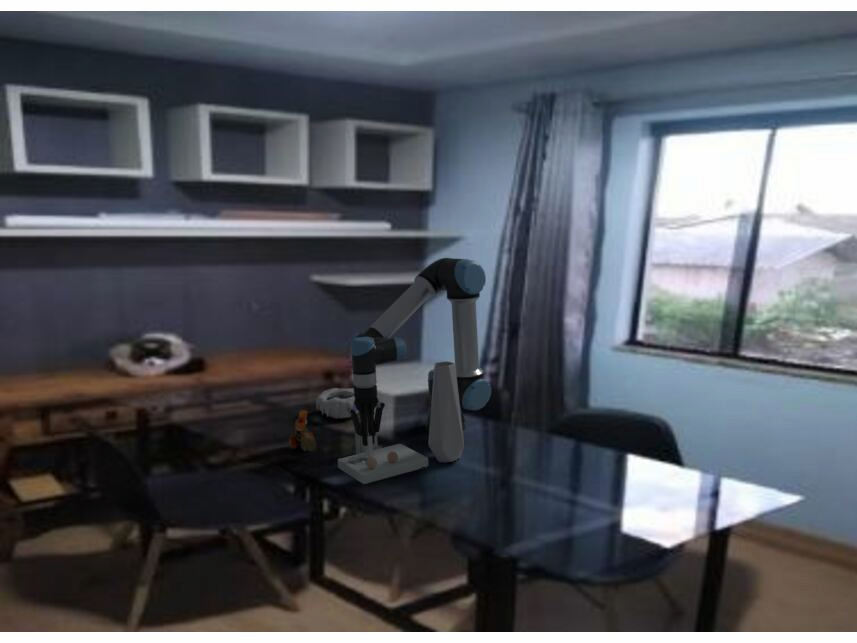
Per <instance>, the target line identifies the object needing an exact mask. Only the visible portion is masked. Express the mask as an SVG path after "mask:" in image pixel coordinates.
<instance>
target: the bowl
mask: <svg viewBox="0 0 857 643" xmlns="http://www.w3.org/2000/svg"><path fill="white" fill-rule="evenodd" d="M315 399H316V400H315V402H316V403H315V404H316V405H315V406H316V407H315V409H316V410H317V412H318V411H320V412H321V416H324V414H326V417H327V418H329V417H330V418H332V419H336V420H337V419H347V418H348V419H349V418H351V415H350V413H349V412H348V408H351V407H353V406H354V401H355V398H354V387H352V388H350V387H349V388H337V387H333V388H329V389H327V390H324V391H323V392H321V394H320V395H318V396H317V397H316V398H315ZM356 411H357V413H356V414H357V415H358V413H359V411H358V410H357V409H356Z"/></svg>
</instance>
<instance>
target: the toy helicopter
mask: <svg viewBox="0 0 857 643" xmlns="http://www.w3.org/2000/svg"><path fill="white" fill-rule="evenodd" d="M307 418H308V410H303V409H302V410H300V411H299V415H298V418H297V419H296V420H295V421H294V430H295V431H294V432H295V435H291V436H289V437H288V445H289V444H290V445H289V447H290V446H291V447H292V448H296V449H297V447H298V445H299V447H300V448H301V449H302V451H303V450H304V451H305V450H309V452H315V451H316V450H317V442H316V438H315V437H314V435H313V433H312V432H308V428H307V426H306V425H308V419H307ZM297 444H298V445H297Z"/></svg>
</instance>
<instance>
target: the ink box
mask: <svg viewBox="0 0 857 643" xmlns="http://www.w3.org/2000/svg"><path fill="white" fill-rule="evenodd" d="M357 416H358V415H357ZM358 419H359V420H360V415H359V416H358ZM359 423H360V426H361V422H360V421H359ZM367 428H368V422H367ZM353 429H354V446H355V447H354V448H355V455H356V454H360V453H364V452H365V446H364V445H363V444H362V436H359V435H357V434H356V431H355V428H354V427H353ZM368 434H369V433H368ZM375 434H376V435H375V436H374V440H375V443H374V444H373V450H376V449H379V443H378V432H376V433H375Z"/></svg>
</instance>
